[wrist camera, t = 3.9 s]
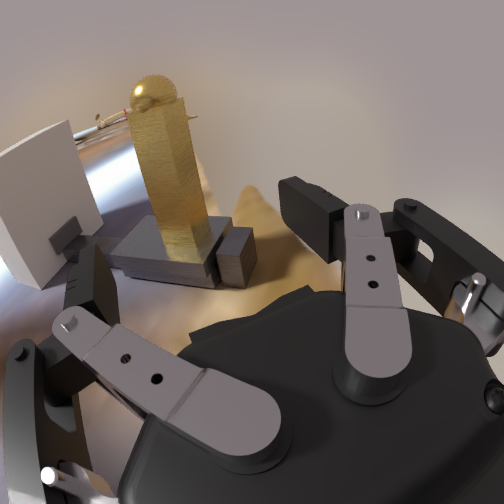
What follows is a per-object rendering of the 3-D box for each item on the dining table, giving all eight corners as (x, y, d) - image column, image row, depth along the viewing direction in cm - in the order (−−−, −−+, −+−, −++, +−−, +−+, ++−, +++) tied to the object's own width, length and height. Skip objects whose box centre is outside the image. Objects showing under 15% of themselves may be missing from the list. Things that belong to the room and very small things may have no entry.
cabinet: (16, 282, 31) (-36, 177, 22) (77, 220, 42) (44, 128, 33) (43, 290, 29) (-17, 168, 19) (109, 221, 40) (75, 116, 30)
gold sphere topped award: (121, 280, 28) (56, 107, 18) (154, 239, 34) (110, 87, 23) (211, 293, 25) (157, 73, 15) (236, 244, 31) (204, 63, 20)
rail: (54, 261, 34) (42, 239, 31) (72, 243, 37) (61, 222, 34) (245, 288, 26) (239, 255, 24) (257, 259, 29) (252, 227, 27)
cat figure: (99, 133, 118) (148, 112, 123) (93, 117, 112) (143, 96, 118) (100, 130, 125) (146, 110, 131) (94, 115, 120) (141, 95, 125)
